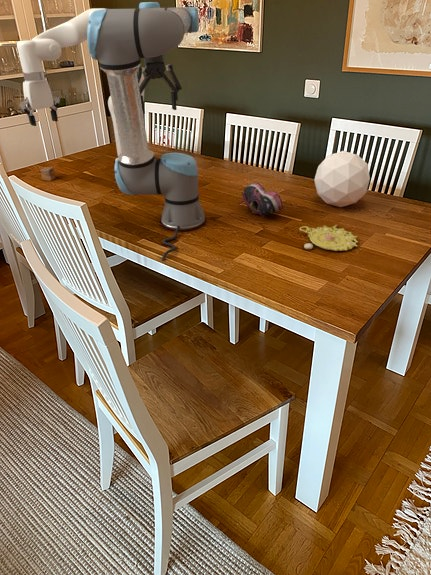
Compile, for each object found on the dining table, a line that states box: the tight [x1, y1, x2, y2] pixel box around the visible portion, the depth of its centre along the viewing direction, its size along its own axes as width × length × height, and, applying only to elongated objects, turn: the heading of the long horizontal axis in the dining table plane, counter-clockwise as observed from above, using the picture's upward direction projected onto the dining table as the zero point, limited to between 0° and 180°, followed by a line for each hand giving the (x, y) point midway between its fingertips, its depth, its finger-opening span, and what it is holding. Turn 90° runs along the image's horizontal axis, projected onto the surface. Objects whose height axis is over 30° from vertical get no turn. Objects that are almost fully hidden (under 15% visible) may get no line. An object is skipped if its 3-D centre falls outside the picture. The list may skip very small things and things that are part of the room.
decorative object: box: [299, 224, 359, 252], centre depth 141 cm, size 21×2×20 cm
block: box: [40, 166, 57, 182], centre depth 199 cm, size 4×4×5 cm
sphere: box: [313, 150, 371, 208], centre depth 161 cm, size 19×20×20 cm
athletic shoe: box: [238, 182, 284, 217], centre depth 160 cm, size 11×22×12 cm
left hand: (44, 123), depth 180 cm, fingers open, 9 cm apart
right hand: (158, 111), depth 176 cm, fingers open, 13 cm apart
